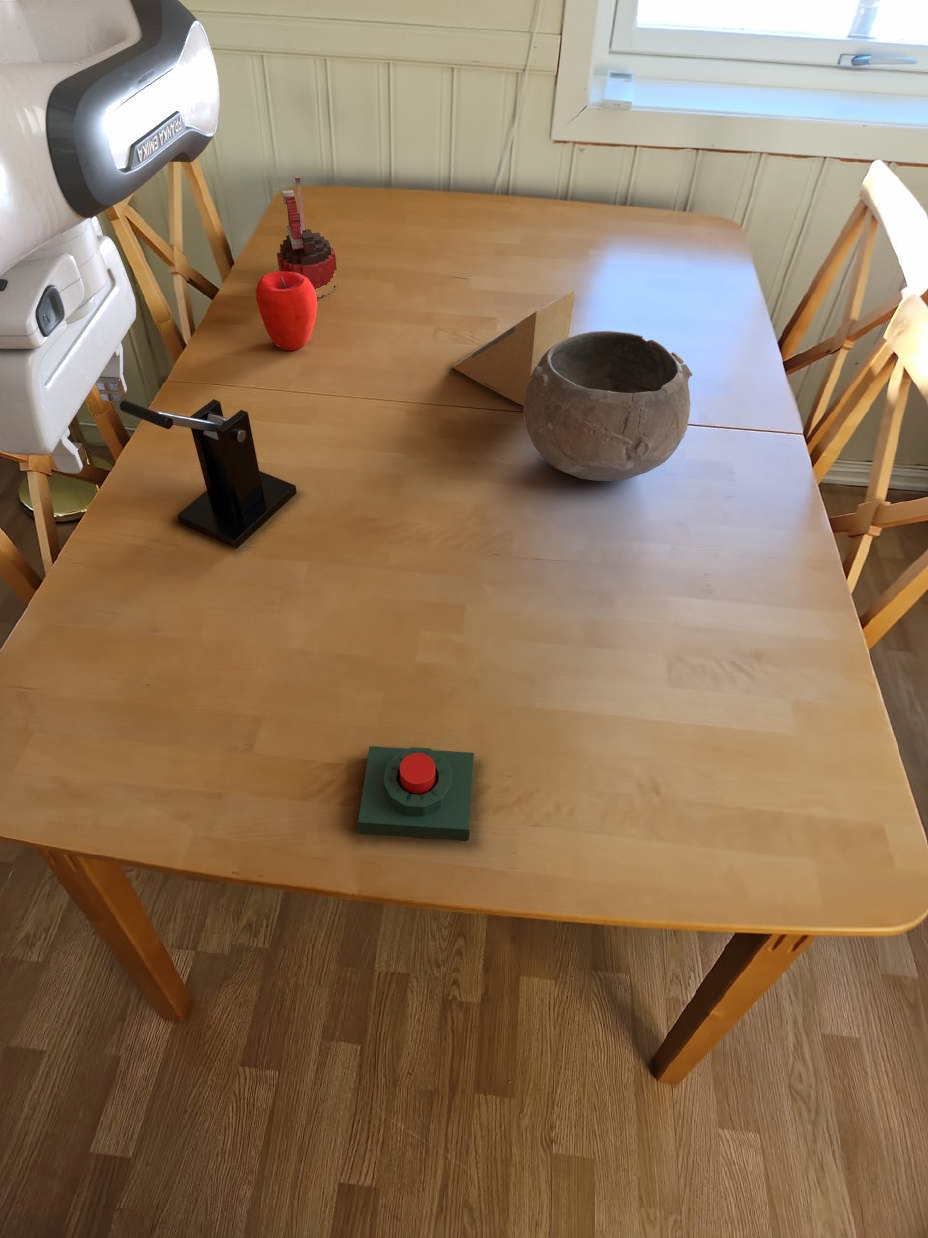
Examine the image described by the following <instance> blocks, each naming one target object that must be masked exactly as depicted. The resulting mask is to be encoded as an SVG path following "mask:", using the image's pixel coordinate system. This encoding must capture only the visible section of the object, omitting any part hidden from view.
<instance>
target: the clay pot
mask: <svg viewBox="0 0 928 1238" xmlns="http://www.w3.org/2000/svg"><path fill="white" fill-rule="evenodd" d="M691 377H693V372H692V371H691V370H690V368H689V367H688V365H687V364H686V363H685V361H684V359H683V358H681V357H680V356H679V355H678V354H677V353H676V352H674V351H672V352H670V351H668V350H667V348H666V347H665V346H663V345H662V344H661V343H659V342H657V341H655V340H654V339H649V340H648V339H646V338H644V337H643V335H640V334H636V333H633V332H625V331H624V332H623V331H618V330H617V331H616V330H598V331H597V330H596V331H588V332H583V333H579V334H575V335H571V336H569V337H568V338H566V339H564V340H562V341H560V342H558V343H556V344H555V345H554V346H553V347H551V348H550V349H549V350H548V351H547V352H546V353H545V354H544V355H543V357H542V358H541V360H540V361H539V363H538V365H537V366H536V367H535V369H534V371H533V373H532V375H531V379H530V382H529V385H528V387H527V392H526V396H525V401H524V406H523V419H524V425H525V429H526V432H527V434H528V436H529V438H530V440H531V443H532V444H533V447H534V448H535V449H536V451H538V453H539V454H540V456H542V458H544V459H545V460H546V461H547V462H548V463H549V464H550V465H551V466H552V467H554V468H555V469H556V470H558V471H560V472H562V473H564V474H568V475H570V476H573V477H575V478H577V479H581V480H588V481H589V480H590V481H594V482H609V481H610V482H611V481H612V482H613V481H621V480H627V479H631V478H634V477H637V476H641V475H644V474H646V473H648V472H650V471H652V470H654V469H656V468H658V467H660V466H661V465H663V464H664V463H665V462H666V461H668V459H670V457H671V456H672V455H674V453H675V451H676V450H677V449H678V447H679V445H680V443H682V442H681V441H682V440H683V439H684V438H685V434H686V432H687V430H688V426H689V420H690V415H691V397H690V394H691V393H690V386H689V385H690V384H689V379H690V378H691Z"/></svg>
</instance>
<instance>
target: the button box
mask: <svg viewBox="0 0 928 1238" xmlns="http://www.w3.org/2000/svg"><path fill="white" fill-rule="evenodd" d="M368 747H369V748H368V753H367V759H366V767H365V772H364V780H363V785H362V786H363V787H362V792H361V798H360V805H359V812H358V816H357V817H358V818H357V825H358V833H359V834H363V835H379V836H392V837H393V836H394V837H406V838H407V837H408V838H424V839H437V840H438V839H439V840H452V841H466V842H467V841H470V833H471V819H472V801H473V800H472V799H473V798H472V797H473V779H474V764H475V762H474V761H475V753H474V752H467V751H466V752H465V751H451V750H436V749H432V748H429V747H418V746H417V747H416V746H412V747H408V748H407V747H390V746H375V745H370V746H368ZM413 753H422V754H426V755H428V756H429V757H430V758H431V759H432V760H433V761H434V763H435V783H434V785H433V786H432V788H431V789H429V790H428V791H426V792H424V793H420V794H415V793H411V792H408V791H407V790H405V789H404V788H403V786H402V785H401V782H400V764H401V762H402V760H403V759H404V758H405V757H406V756H408V755H410V754H413Z"/></svg>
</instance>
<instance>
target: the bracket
mask: <svg viewBox="0 0 928 1238" xmlns="http://www.w3.org/2000/svg"><path fill="white" fill-rule="evenodd" d="M208 414H213V415H218V416H222V417H224V413H223V407H222V404H221V401H220V400H217V399H214V398H213V399H211V400H210V401H209V402H208V403H206V404H205V405H203V406H202V407H201V408H200V409H198V410H196V412H194V413H193V414H192V415H190V416H189V417H192V418H197V419H202V420H207V418H208ZM216 431H217V436H218V440H217V439H214V438H212V437H209V436H207V435H204V434H203V433H204V430H199V429H193V428H190V432H191V434H192V439H193V442H194V447H195V450H196V454H197V458H198V461H199V466H200V470H201V474H202V476H203V481H204V484H205V488H206V490H205V491H204V492H202V493H201V494H200V495H199V496H198V497H196V498H195V499H194V500H193V501H192V502H191V503H189V504H188V505H187V506H186V507H185V508H183V510H181V511H179V513H177V514H176V517H177V520H178V523H179V524H180V525H183V526H184V527H187V528H189V529H192V530H194V531H196V532H198V533H201V534H203V535H205V536H207V537H209V538H211V539H214V540H216V541H219V542H221V543H223V544H226V545H228V546H229V547H232V548H234V549H238V548H240V547H241V546H242V544H244V543H245V542H246V541H247V540H248V539H249V538H250V537H252V535H254V534H255V532H257V531H258V530H259V529H260V528H262V526H263V525H265V523H266V522H268V521H269V520H270V519H271V518H272V517H273V516H274V515H275V514H277V512H278V511H279V510H280V509H281V508H283V507H284V506H285V505H286V504H287V503H288V502H289V501H290V500H291V499H292V498H293V497H294V496H296V495H297V493H298V492H297V486H296V484H293V483H291V482H288V481H286V480H283V479H281V478H279V477H276V476H273V475H272V474H271V475H270V474H268V473H266V472H263V471H261V470H260V467H259V461H258V457H257V452H256V446H255V442H254V437H253V431H252V427H251V421H250V417H249V412H248V411H245V410H243V409H240V410H239V411H237V412H235V414H233V415H232V416H231V417H230V418H228V420H227V421H226V422H225V423H223V424H222V425H221V426H219V427H218V428H217V429H216Z"/></svg>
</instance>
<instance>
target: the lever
mask: <svg viewBox="0 0 928 1238" xmlns="http://www.w3.org/2000/svg"><path fill="white" fill-rule="evenodd" d="M119 409H120V411H121V412H124V413H126V414H128V415H132V416H133V417H135V418H138V419H140V420H143V421H145V422H148V423H150V424H153V425H156V426H158V427H161V428H163V429H165V430H170V429H171V428H172V427H173V426H177V427H182V428H188V429H191V428H193V429H199V430H204V433H203V434H204V435H207V436H209V437H212V438H214V439H217V440H218V436H217V431H216V429H217V428H218V427H219V426H221V425H222V424H223V423H225V422H226V421H227V420H228V419H229V417H226V416H223V417H222V416H218V415H213V414H208V418H207V420H202V419H197V418H192V417H190V416H187V415H181V414H176V413H171V412H165V411H160V410H156V409H150V408H147V407H145V406H142V405H140V404H138V403H135V402H132V401H130V400H128V399H123V400H121V401H120V402H119Z"/></svg>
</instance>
